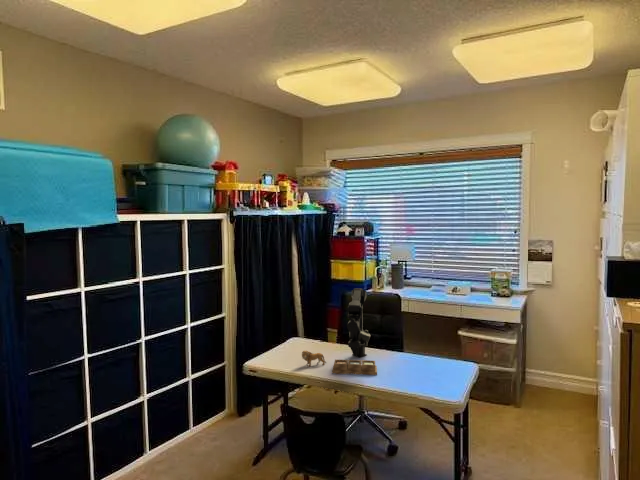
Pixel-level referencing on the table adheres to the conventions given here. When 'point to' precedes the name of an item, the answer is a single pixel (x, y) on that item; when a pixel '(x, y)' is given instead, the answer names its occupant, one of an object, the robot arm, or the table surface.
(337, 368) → the button board
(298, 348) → the table surface
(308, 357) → the lion figurine
